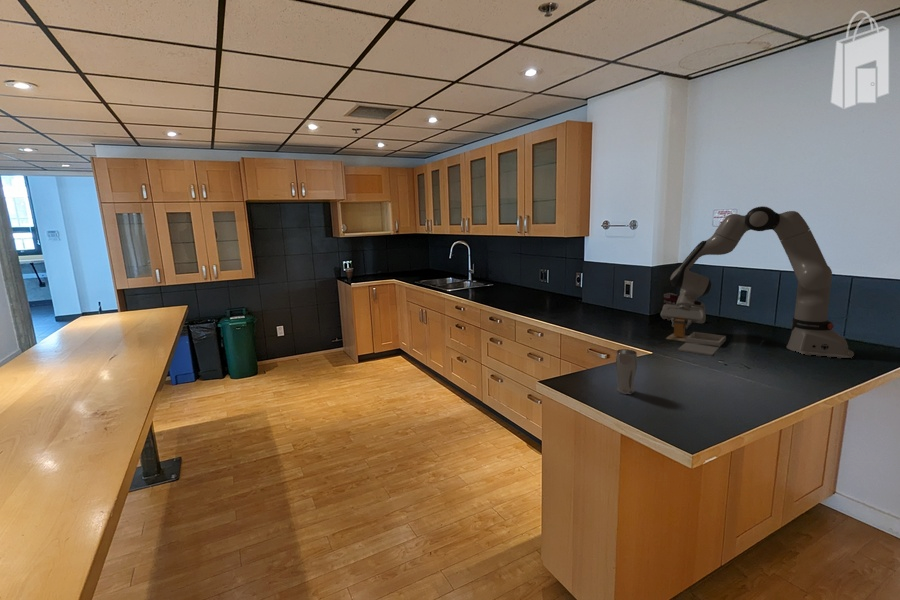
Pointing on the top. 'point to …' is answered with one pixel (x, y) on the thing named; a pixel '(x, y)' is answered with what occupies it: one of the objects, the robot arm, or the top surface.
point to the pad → (677, 337)
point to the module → (679, 327)
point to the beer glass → (626, 370)
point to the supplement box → (670, 298)
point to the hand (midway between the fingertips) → (679, 327)
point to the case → (702, 343)
